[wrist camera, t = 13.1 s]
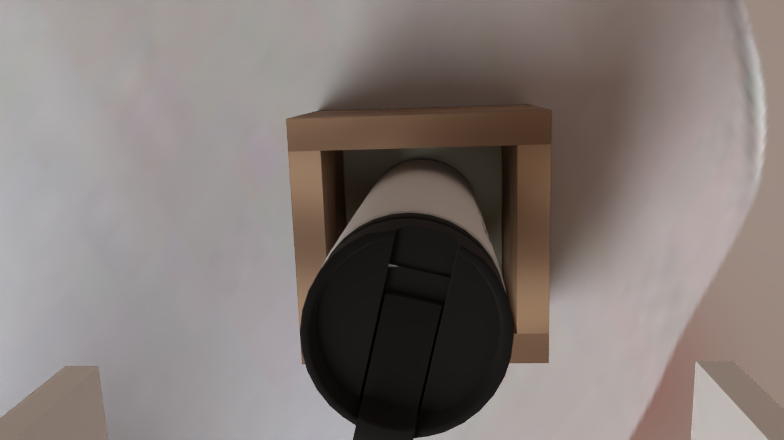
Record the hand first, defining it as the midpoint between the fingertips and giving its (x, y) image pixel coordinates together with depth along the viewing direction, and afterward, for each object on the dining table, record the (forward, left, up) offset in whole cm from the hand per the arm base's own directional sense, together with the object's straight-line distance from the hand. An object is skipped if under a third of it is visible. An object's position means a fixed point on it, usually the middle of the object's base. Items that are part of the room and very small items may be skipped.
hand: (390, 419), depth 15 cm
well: (0, 0, -25) cm, 25 cm away
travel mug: (0, 0, -24) cm, 24 cm away
